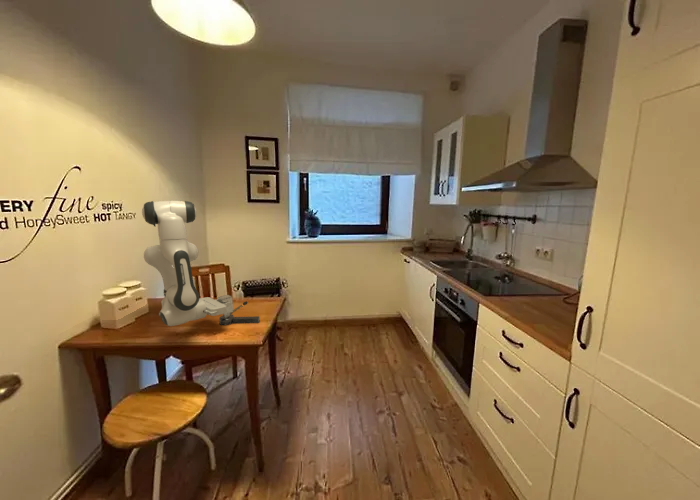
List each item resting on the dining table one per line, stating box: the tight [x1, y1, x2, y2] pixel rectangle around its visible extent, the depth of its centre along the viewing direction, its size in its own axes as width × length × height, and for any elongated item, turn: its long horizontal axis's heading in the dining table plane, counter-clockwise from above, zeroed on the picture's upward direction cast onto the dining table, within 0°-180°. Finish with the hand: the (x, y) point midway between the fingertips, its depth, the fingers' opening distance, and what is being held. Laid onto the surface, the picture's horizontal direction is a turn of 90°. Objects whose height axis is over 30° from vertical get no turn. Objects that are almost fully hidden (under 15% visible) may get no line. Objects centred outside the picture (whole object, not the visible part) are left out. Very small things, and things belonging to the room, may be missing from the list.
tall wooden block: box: [217, 294, 234, 314], centre depth 158 cm, size 5×5×8 cm
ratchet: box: [218, 313, 260, 326], centre depth 160 cm, size 20×7×6 cm, turn 93°
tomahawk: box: [230, 301, 248, 315], centre depth 179 cm, size 21×7×1 cm, turn 166°
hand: (226, 302), depth 159 cm, fingers closed on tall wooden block, 5 cm apart
